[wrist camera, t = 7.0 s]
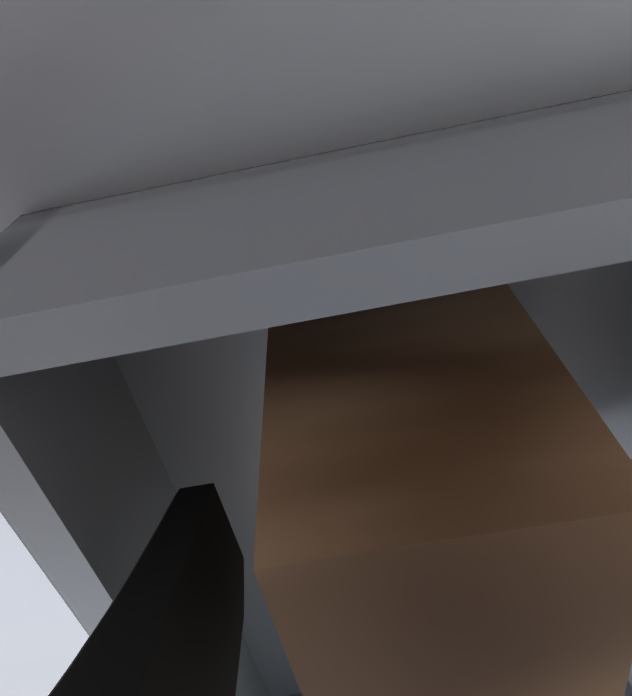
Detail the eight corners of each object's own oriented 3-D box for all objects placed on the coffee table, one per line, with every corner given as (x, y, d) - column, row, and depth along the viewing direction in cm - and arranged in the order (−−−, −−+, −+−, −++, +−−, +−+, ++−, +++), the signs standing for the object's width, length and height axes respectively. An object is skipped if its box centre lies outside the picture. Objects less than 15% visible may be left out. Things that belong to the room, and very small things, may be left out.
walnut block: (311, 469, 14) (323, 750, 9) (269, 309, 12) (253, 568, 6) (498, 439, 14) (620, 712, 9) (496, 268, 11) (664, 507, 6)
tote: (254, 694, 21) (246, 855, 17) (21, 215, 11) (-122, 342, 7) (627, 641, 20) (707, 800, 16) (732, 69, 10) (1002, 126, 6)
